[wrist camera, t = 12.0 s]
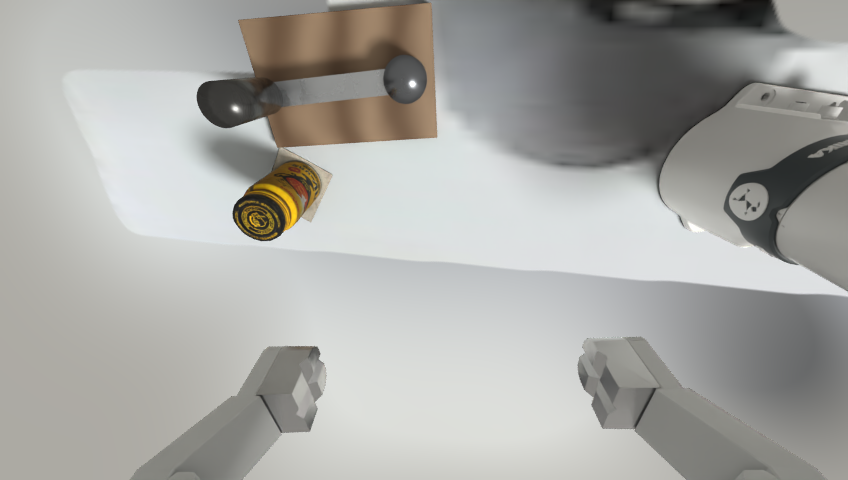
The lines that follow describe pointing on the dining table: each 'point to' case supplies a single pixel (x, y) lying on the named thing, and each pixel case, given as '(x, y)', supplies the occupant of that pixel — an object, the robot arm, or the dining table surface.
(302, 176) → the condiment
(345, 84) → the lever
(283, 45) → the board
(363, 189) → the dining table surface
